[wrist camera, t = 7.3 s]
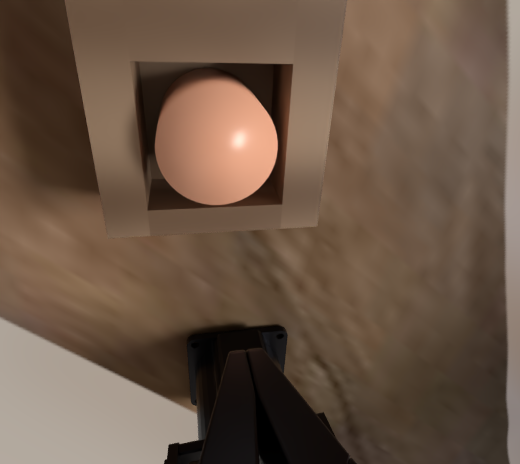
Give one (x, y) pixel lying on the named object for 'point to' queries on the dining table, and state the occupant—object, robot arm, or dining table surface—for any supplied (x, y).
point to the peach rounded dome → (214, 138)
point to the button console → (196, 57)
